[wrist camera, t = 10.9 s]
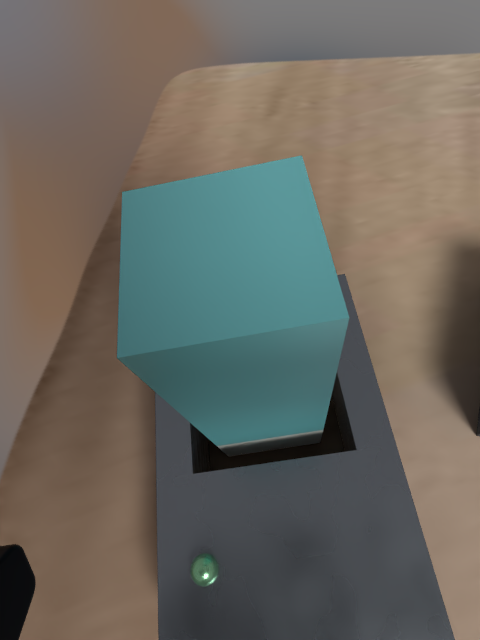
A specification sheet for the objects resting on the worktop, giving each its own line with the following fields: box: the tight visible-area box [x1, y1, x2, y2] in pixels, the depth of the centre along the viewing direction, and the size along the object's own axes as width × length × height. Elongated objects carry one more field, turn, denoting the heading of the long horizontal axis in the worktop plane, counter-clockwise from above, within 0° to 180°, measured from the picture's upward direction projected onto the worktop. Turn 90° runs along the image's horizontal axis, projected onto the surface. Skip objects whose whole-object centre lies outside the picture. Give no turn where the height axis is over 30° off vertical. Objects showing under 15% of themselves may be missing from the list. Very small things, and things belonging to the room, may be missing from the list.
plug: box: [117, 156, 349, 457], centre depth 14 cm, size 4×4×13 cm
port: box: [155, 274, 455, 640], centre depth 17 cm, size 14×10×4 cm
